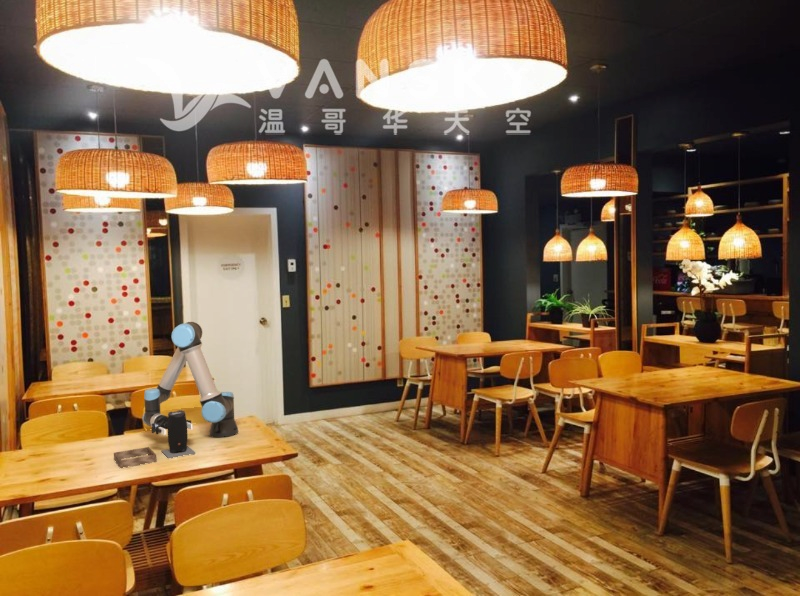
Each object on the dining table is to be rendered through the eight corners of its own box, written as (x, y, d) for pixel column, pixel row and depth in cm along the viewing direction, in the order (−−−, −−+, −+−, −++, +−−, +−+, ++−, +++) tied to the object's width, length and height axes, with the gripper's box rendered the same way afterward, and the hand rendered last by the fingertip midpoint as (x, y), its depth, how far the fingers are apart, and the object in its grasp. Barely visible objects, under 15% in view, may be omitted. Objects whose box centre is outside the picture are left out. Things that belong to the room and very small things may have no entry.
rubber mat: (188, 447, 325) (187, 446, 325) (195, 454, 314) (195, 452, 314) (161, 452, 318) (161, 450, 318) (167, 459, 307) (167, 457, 307)
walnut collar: (149, 453, 316) (148, 446, 316) (156, 462, 303) (156, 454, 302) (114, 459, 307) (113, 452, 307) (120, 468, 294) (119, 461, 294)
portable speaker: (185, 453, 312) (183, 413, 311) (166, 454, 311) (164, 414, 310) (190, 448, 321) (188, 409, 319) (171, 449, 320) (169, 410, 319)
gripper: (184, 424, 338) (202, 431, 323) (136, 434, 321) (153, 442, 306) (183, 410, 338) (202, 417, 322) (135, 419, 321) (153, 426, 305)
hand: (178, 429), depth 314 cm, fingers open, 13 cm apart
